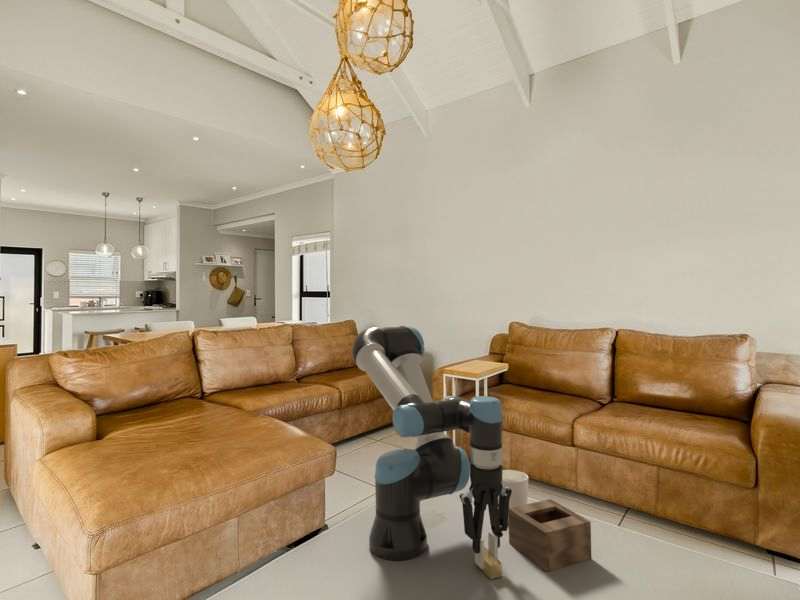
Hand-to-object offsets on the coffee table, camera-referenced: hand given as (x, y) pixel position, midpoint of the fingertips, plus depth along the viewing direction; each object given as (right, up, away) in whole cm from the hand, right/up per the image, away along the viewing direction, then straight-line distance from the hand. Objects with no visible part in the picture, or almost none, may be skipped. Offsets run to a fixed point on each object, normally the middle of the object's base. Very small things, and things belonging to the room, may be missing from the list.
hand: (486, 563), depth 102 cm
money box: (+17, -1, +8) cm, 19 cm away
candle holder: (+13, -2, +26) cm, 29 cm away
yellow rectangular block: (0, -1, -1) cm, 1 cm away
